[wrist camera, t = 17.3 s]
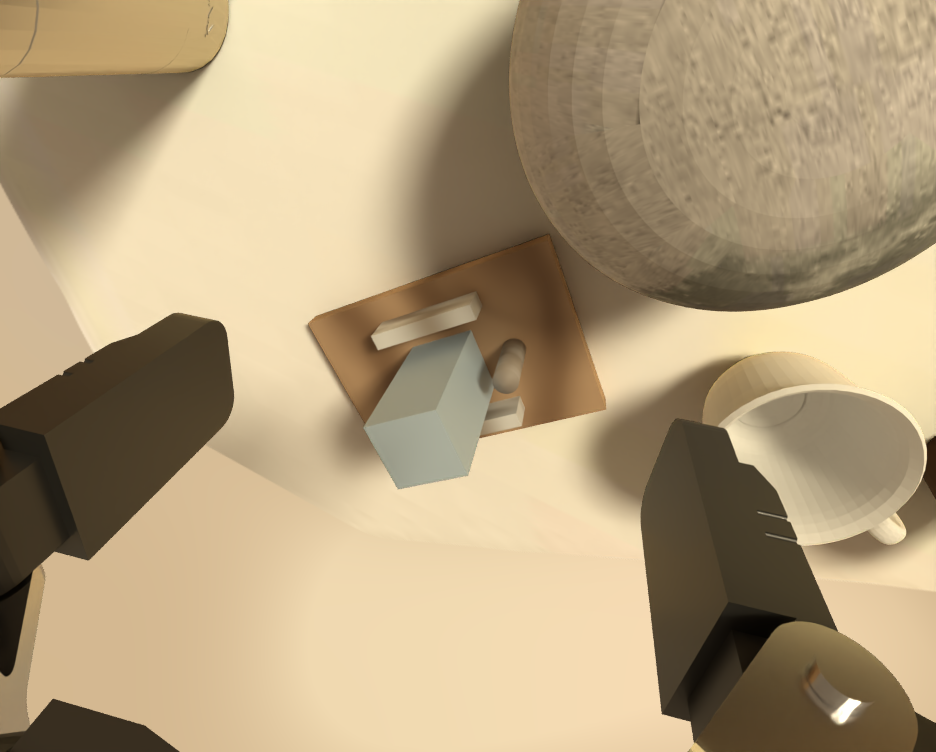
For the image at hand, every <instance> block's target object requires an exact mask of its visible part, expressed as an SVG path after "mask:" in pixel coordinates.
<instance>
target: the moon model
mask: <svg viewBox="0 0 936 752" xmlns="http://www.w3.org/2000/svg"><path fill="white" fill-rule="evenodd" d="M509 97H510V110H511V119H512V126H513V131H514V137H515V141H516V146H517V150H518V153H519V157H520V160H521V163H522V166H523V169H524V172H525V174H526V177H527V180H528V182H529V184H530V186H531V189H532V191H533V193H534V195H535V197H536V199H537V200H538V202H539V204H540V206H541V208H542V209H543V211H544V212H545V214H546V216H547V217H548V218H549V220H550V221H551V223H552V224H553V225H554V227H555V228H556V229H557V231H558V232H559V233H560V234H561V236H562V237H563V238H564V239H565V240H566V241H567V243H568V244H569V245H570V246H571V247H572V248H573V249H574V250H575V251H576V252H577V253H578V254H579V255H580V256H581V257H582V258H583V259H585V260H586V261H587V262H588V263H589V264H591V265H592V266H593V267H595V268H596V269H597V270H599V271H600V272H601V273H603V274H604V275H606V276H607V277H609V278H611V279H612V280H614V281H616V282H617V283H619V284H621V285H623V286H625V287H627V288H629V289H631V290H633V291H636V292H638V293H640V294H643V295H646V296H648V297H651V298H654V299H657V300H660V301H664V302H667V303H671V304H675V305H679V306H684V307H689V308H695V309H702V310H710V311H728V312H737V311H757V310H766V309H774V308H780V307H786V306H791V305H796V304H800V303H805V302H809V301H813V300H817V299H820V298H824V297H827V296H831V295H834V294H837V293H840V292H843V291H845V290H848V289H851V288H853V287H856V286H858V285H861V284H863V283H865V282H868V281H870V280H872V279H874V278H876V277H878V276H880V275H882V274H884V273H886V272H888V271H890V270H892V269H894V268H896V267H898V266H900V265H901V264H903V263H905V262H907V261H908V260H910V259H912V258H913V257H915V256H917V255H918V254H920V253H921V252H923V251H924V250H926V249H927V248H929V247H930V246H932V245H933V244H935V243H936V0H520V1H519V5H518V9H517V14H516V19H515V24H514V30H513V36H512V44H511V53H510V66H509Z"/></svg>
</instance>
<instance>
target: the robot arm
mask: <svg viewBox="0 0 936 752" xmlns="http://www.w3.org/2000/svg"><path fill="white" fill-rule="evenodd" d="M228 18H229V10H228V0H0V78H15V77H49V76H84V75H118V74H161V73H183V72H192V71H194V70H197V69H199V68H202V67H203V66H204V65H206V64H207V63H208V62H209V61H211V60H212V59H213V57H214V56H215V55H216V53H217V52H218V50H219V49H220V47H221V45H222V42H223V40H224V37H225V35H226V30H227V24H228ZM233 402H234V389H233V381H232V373H231V364H230V356H229V347H228V339H227V333H226V330H225V327H224V326H223V324H222V323H221V322H219V321H216V320H211V319H207V318H202V317H197V316H192V315H187V314H183V313H173V314H171V315H169V316H168V317H166V318H164V319H163V320H161V321H159V322H158V323H156V324H154V325H153V326H151V327H149V328H148V329H146V330H144V331H143V332H141V333H140V334H138V335H135V336H132V337H129V338H126V339H123V340H120V341H117V342H113V343H110V344H109V345H107V346H105V347H104V348H102V349H100V350H99V351H97V352H95V353H94V354H92V355H90V356H89V357H87V358H86V359H85V361H84V362H79V363H77V364H75V365H73V366H72V367H70V368H68V369H67V370H65V371H64V373H63V375H56V376H55V377H53V378H51V379H50V380H48V381H46V382H44V383H43V384H41V385H39V386H38V387H36V388H34V389H33V390H31V391H29V392H28V393H26V394H24V395H22V396H21V397H19V398H17V399H16V400H14V401H12V402H11V403H9V404H7V405H6V406H4V407H2V408H0V752H179V751H178V750H176V749H175V748H174V747H173V746H171V745H170V744H168V743H167V742H166V741H165V740H163V739H162V738H161V737H159V736H158V735H157V734H155V733H154V732H153V731H151V730H150V729H149V728H147V727H146V726H144V725H141V724H137V723H134V722H131V721H127V720H124V719H121V718H117V717H113V716H110V715H107V714H103V713H100V712H96V711H93V710H90V709H86V708H82V707H79V706H76V705H73V704H69V703H66V702H62V701H59V700H56V699H52V700H51V702H50V703H49V704H48V705H47V707H46V708H45V709H44V710H43V711H42V712H41V714H40V715H39V716H38V717H37V718H36V719H35V721H34V722H33V723H32V724H31V725H30V723H29V718H28V712H27V703H26V701H27V699H26V698H27V685H28V679H29V673H30V667H31V661H32V655H33V649H34V643H35V637H36V631H37V625H38V620H39V614H40V608H41V602H42V596H43V590H44V584H45V572H44V569H43V567H42V565H41V563H42V562H43V561H44V560H45V559H47V558H48V557H49V556H50V555H51V554H52V553H53V552H58V553H62V554H66V555H70V556H74V557H77V558H81V559H85V560H90V559H91V557H93V556H94V555H95V554H96V553H97V552H98V550H100V549H101V548H102V547H103V546H104V545H105V544H106V543H107V542H108V541H109V540H110V538H112V537H113V536H114V535H115V534H116V533H117V532H118V531H119V530H120V529H121V528H122V527H123V526H124V525H125V524H126V523H127V522H128V521H129V520H130V519H131V518H132V517H133V515H135V514H136V513H137V512H138V511H139V510H140V509H141V508H142V507H143V506H144V505H145V504H146V503H147V502H148V501H149V500H150V499H151V498H152V497H153V496H154V495H155V494H156V493H157V492H158V491H159V490H160V489H161V488H162V487H163V486H164V485H165V484H166V483H167V482H168V481H169V480H170V479H171V478H172V477H173V476H174V475H175V474H176V473H177V472H178V471H179V470H180V469H181V468H182V467H183V466H184V465H185V464H186V463H187V462H188V461H189V460H190V459H191V458H192V457H193V456H194V455H195V454H196V453H197V452H198V451H199V450H200V449H201V448H202V447H203V446H204V445H205V444H206V443H207V442H208V441H209V440H210V439H211V438H212V437H213V436H214V435H215V434H216V433H217V432H218V431H219V430H220V429H221V428H222V427H223V426H224V424H225V423H226V422H227V420H228V418H229V416H230V414H231V411H232V407H233ZM787 518H788V515H787V513H786V511H785V509H784V506H783V504H782V502H781V499H780V497H779V495H778V492H777V490H776V489H775V488H774V487H773V486H772V485H771V484H770V483H769V482H768V481H767V479H766V478H765V477H764V476H763V475H762V474H761V473H760V472H759V471H758V470H757V469H756V468H755V466H754V465H750V464H745V463H740V462H739V461H738V458H737V456H736V453H735V450H734V448H733V445H732V442H731V440H730V437H729V434H728V432H727V430H726V429H725V428H722V427H717V426H712V425H708V424H703V423H698V422H693V421H688V420H684V419H676V420H675V421H674V422H673V423H672V425H671V426H670V429H669V431H668V433H667V436H666V438H665V441H664V443H663V446H662V448H661V451H660V453H659V456H658V458H657V461H656V463H655V466H654V468H653V471H652V473H651V476H650V479H649V481H648V484H647V486H646V489H645V492H644V496H643V501H642V507H641V531H642V540H643V549H644V558H645V566H646V574H647V575H646V576H647V584H648V594H649V602H650V612H651V621H652V630H653V638H654V647H655V656H656V666H657V675H658V684H659V692H660V702H661V711H662V714H664V715H668V716H671V717H675V718H679V719H682V720H686V721H690V722H691V727H692V733H693V740H694V744H693V746H692V747H691V748H690V750H689V751H688V752H936V723H934V722H932V721H931V720H929V719H927V718H925V717H923V716H921V715H920V714H918V713H916V712H915V711H914V708H913V706H912V704H911V702H910V699H909V697H908V696H907V694H906V693H905V691H904V689H903V688H902V686H901V685H900V683H899V682H898V681H897V679H896V678H895V677H894V676H893V674H892V673H891V672H890V671H889V670H888V669H887V668H886V667H885V666H884V665H883V664H882V663H881V662H880V661H879V660H878V659H877V658H876V657H875V656H874V655H872V654H871V653H870V652H869V651H868V650H866V649H865V648H864V647H862V646H861V645H860V644H858V643H857V642H855V641H854V640H852V639H850V638H848V637H847V636H845V635H843V634H841V633H839V632H838V630H837V628H836V626H835V623H834V621H833V619H832V617H831V614H830V612H829V610H828V607H827V605H826V603H825V601H824V598H823V596H822V594H821V591H820V589H819V587H818V585H817V582H816V580H815V577H814V575H813V573H812V571H811V568H810V566H809V564H808V561H807V559H806V557H805V554H804V552H803V550H802V548H801V545H799V544H797V539H798V538H797V536H796V534H795V531H794V529H793V527H792V525H791V522H789V521H787Z"/></svg>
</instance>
